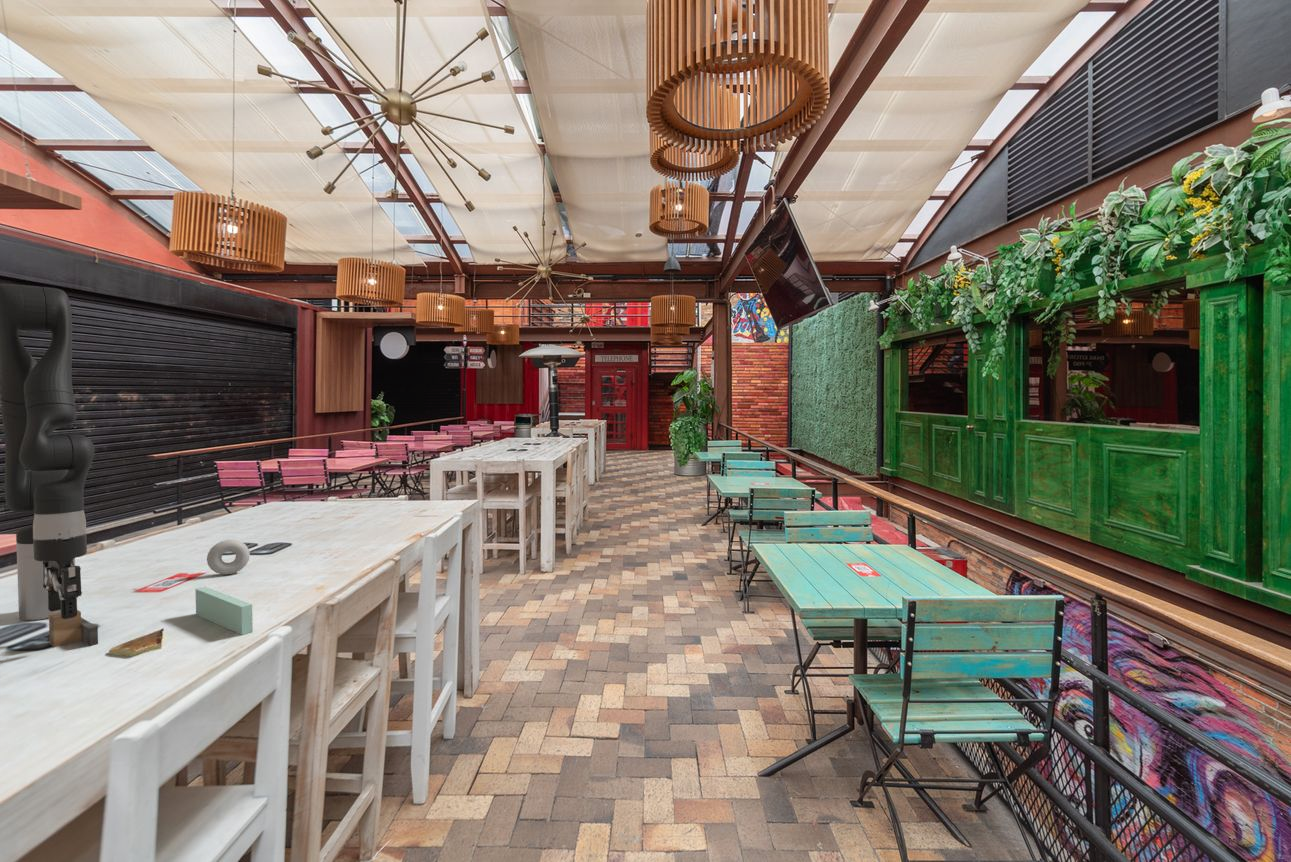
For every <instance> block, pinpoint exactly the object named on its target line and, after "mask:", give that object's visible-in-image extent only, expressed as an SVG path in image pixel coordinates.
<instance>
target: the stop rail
mask: <svg viewBox="0 0 1291 862" xmlns="http://www.w3.org/2000/svg"><path fill="white" fill-rule="evenodd" d="M195 615H196V616H198V617H201V618H203V619H205V620H208V621H210V622H212V623H215V624H216V625H218V626H221V627H223V628H226V629H228V630H230V631H232V632H234V633H237V634H239V635H242V636H243V635H247V634H251V633H253V632H254V631H253V630H254V629H253V628H254V627H253V604H252V603H249V602H247V601H245V600H241V599H239V598H236V597H233V596H231V595H229V594H226V593H223V592H220V591H218V590H215V589H213V588H211V587H207V586H202V587H199V588H198V587H197V588H195Z"/></svg>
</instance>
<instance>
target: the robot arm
mask: <svg viewBox="0 0 1291 862" xmlns="http://www.w3.org/2000/svg"><path fill="white" fill-rule="evenodd" d="M72 315H73V314H72V307H71V303H70V298H69V297H68V295H67V293H66V291H64V290H63V289H59V288H56V287H47V286H38V285H26V284H25V285H24V284H14V283H0V407H1V408H0V411H1V418H2V426H3V434H4V445H5V446H4V447H5V449H4V450H5V452H4V453H5V455H4V457H5V460H4V461H5V462H4V498H5V504H6V506H7V508H8V510H10V511H11V512H14V513H25V512H26V513H27V512H33V513H34V517H33V523H32V524H29V525H26V526H24V527H22V528H20V529H18V530H17V531H16V534H15V539H16V541H15V542H16V565H17V567H16V570H17V571H16V572H17V597H18V599H17V601H18V603H17V604H18V619H20V620H21V621H35V620H43V619H44V620H45V619H49V615H51V614H55V613H60V612H61V618H62V619H68V618H73V617H76V616H77V610H78V598H79V597H81V596H82V594H83V592H82V578H81V577H82V576H81V566H80V565H76V558H81V557H83V556H85V555H86V554H87V552H88V551H87V550H88V545H87V544H88V543H87V521H86V515H85V500H84V495H85V494H84V493H85V492H84V490H85V484H86V480H87V476H88V474H89V471H90V468H91V465H92V463H93V460H94V456H95V451H96V450H95V446H94V443H93V442H92V440H91V439H90V438H89V437H87V436H86V435H83V434H82V435H81V434H63V435H62V434H61V435H60V434H59V435H58V434H57V435H56V434H55V435H52V434H53V432H54V431H55V430H56V429H57V428H60V427H64V426H70V425H72V424H73V423H75V422H76V420H77V416H78V415H77V409H76V402H75V395H74V389H73V380H72V379H73V377H72V375H73V374H72V371H73V370H72V365H73V363H72V362H73V316H72ZM19 331H27V332H28V331H29V332H49V333H50V332H51V339H50V344H49V347H48V348H47V350H46V351H45V353H44V354H43V356H42V357H41V358H40V359H39V360H38V361H37V360H36V359H35V358H34V356H32V354H31V353H30V351H28V349H27V348H26V347H25V345H24V343H23V342H22V340H21V339H20V337H19Z"/></svg>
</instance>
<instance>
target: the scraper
mask: <svg viewBox="0 0 1291 862" xmlns="http://www.w3.org/2000/svg"><path fill="white" fill-rule="evenodd" d="M48 629H49V632H48V633H49V645H50V646H51V647H53V648H58V647H62V646H66V645H70V644H74V643H78V642H83V643H84V644H86V645H87V646H89V647H92V646H97V645H98V644H99V629H98V626H96V625H95V624H93V623H91V622H90V621H89V620H87V619H84V618H83V617H82V611H80V610H79V609H77V616H76V617H73V618H68V619H62V618H61V612H60V613H55V614H51V615H49V618H48Z"/></svg>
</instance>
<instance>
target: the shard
mask: <svg viewBox="0 0 1291 862" xmlns="http://www.w3.org/2000/svg"><path fill="white" fill-rule="evenodd" d="M164 630H165V629H164V628H161V629H158V630H156V631H153V632H151V633H148V634H146V635H142V636H139V637H137V638H134V639H131V640H127V641H125V642H124V643H121V644H119V645H116V646H114V647H111V648H110V649H109V650H108V654H109V655H113V656H115V655H117V656H124V657H125V656H126V657H131V658H132V657H135V656H137V655H140V654H144V653H148V652H151V651H152V652H153V651H157V650H161V649H162V647H163V638H164Z"/></svg>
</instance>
